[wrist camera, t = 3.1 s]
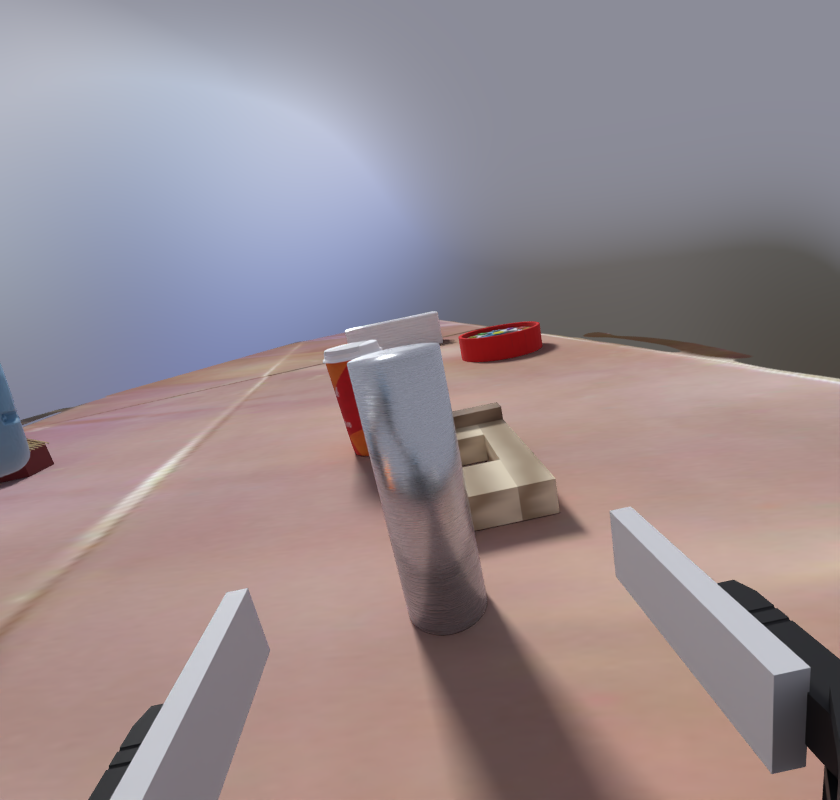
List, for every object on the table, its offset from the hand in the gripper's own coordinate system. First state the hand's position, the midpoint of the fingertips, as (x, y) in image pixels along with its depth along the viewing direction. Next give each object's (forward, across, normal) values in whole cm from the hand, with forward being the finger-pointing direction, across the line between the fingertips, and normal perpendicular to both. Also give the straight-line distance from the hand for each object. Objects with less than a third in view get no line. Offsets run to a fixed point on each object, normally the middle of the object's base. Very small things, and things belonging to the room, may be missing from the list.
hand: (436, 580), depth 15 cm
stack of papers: (+136, -2, -9) cm, 137 cm away
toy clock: (+91, +24, -9) cm, 95 cm away
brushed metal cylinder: (+9, 0, -9) cm, 13 cm away
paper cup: (+40, -6, -9) cm, 42 cm away
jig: (+25, +3, -9) cm, 27 cm away
